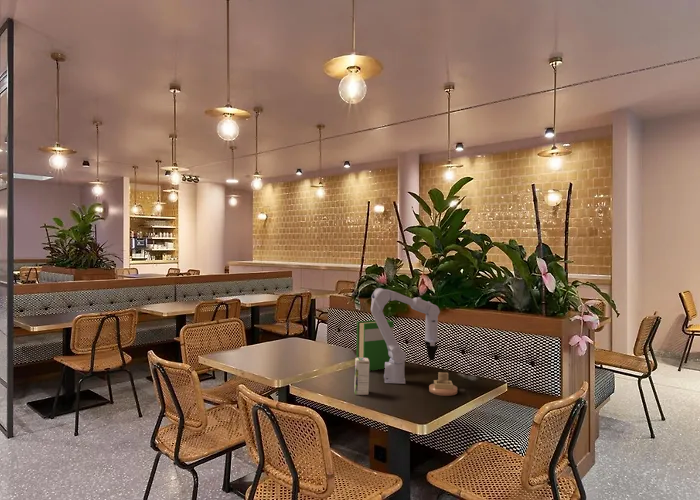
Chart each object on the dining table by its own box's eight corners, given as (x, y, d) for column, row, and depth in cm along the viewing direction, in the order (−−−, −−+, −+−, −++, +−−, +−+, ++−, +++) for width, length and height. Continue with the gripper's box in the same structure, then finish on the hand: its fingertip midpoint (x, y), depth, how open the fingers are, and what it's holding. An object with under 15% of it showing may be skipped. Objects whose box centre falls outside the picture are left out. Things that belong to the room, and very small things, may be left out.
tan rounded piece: (430, 395, 201) (430, 385, 201) (428, 387, 212) (428, 378, 212) (459, 396, 199) (459, 386, 199) (455, 388, 211) (455, 379, 211)
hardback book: (364, 371, 238) (364, 323, 238) (356, 368, 244) (357, 321, 244) (392, 367, 247) (393, 321, 247) (384, 364, 253) (385, 319, 253)
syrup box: (353, 391, 205) (354, 357, 205) (367, 390, 205) (368, 357, 205) (355, 395, 199) (355, 360, 199) (369, 395, 199) (369, 360, 199)
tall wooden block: (438, 387, 205) (438, 373, 205) (438, 385, 207) (438, 372, 207) (448, 387, 205) (448, 374, 205) (447, 386, 207) (447, 372, 207)
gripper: (441, 332, 216) (441, 362, 216) (438, 327, 230) (438, 355, 230) (426, 331, 216) (425, 361, 216) (423, 326, 231) (423, 354, 231)
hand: (430, 358), depth 223 cm, fingers open, 7 cm apart
